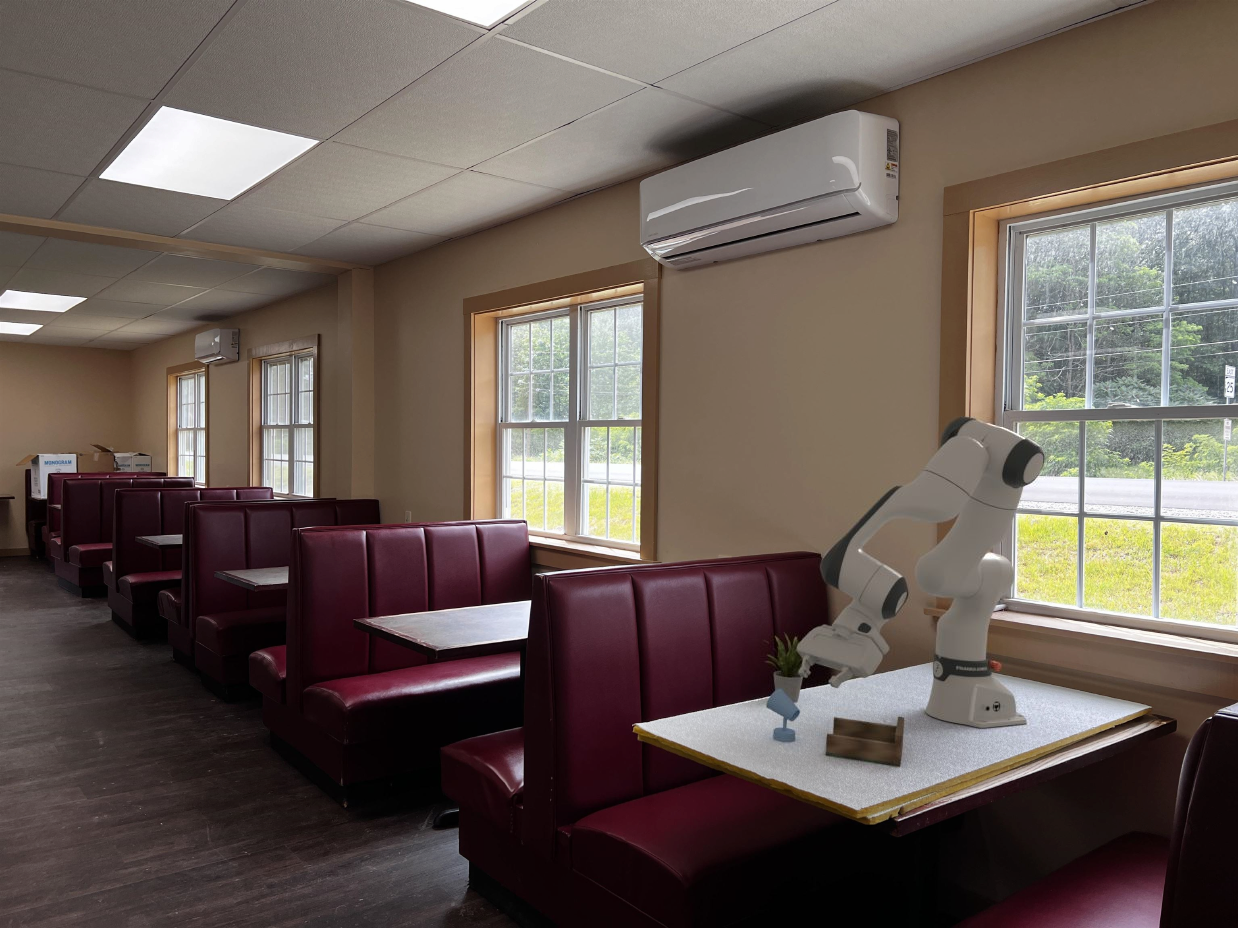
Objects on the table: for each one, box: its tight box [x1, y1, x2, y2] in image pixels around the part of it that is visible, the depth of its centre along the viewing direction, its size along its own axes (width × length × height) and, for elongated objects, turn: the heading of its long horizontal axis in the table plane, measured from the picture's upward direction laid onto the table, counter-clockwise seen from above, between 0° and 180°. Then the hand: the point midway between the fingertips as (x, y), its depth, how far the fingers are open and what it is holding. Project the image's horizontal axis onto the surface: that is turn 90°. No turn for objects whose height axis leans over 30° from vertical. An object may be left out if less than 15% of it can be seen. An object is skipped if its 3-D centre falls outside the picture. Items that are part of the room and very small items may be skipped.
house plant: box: [763, 632, 804, 704], centre depth 212 cm, size 14×14×16 cm
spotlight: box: [765, 689, 801, 743], centre depth 182 cm, size 5×10×7 cm
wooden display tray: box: [825, 716, 905, 768], centre depth 176 cm, size 14×14×6 cm
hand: (816, 680), depth 184 cm, fingers open, 8 cm apart
